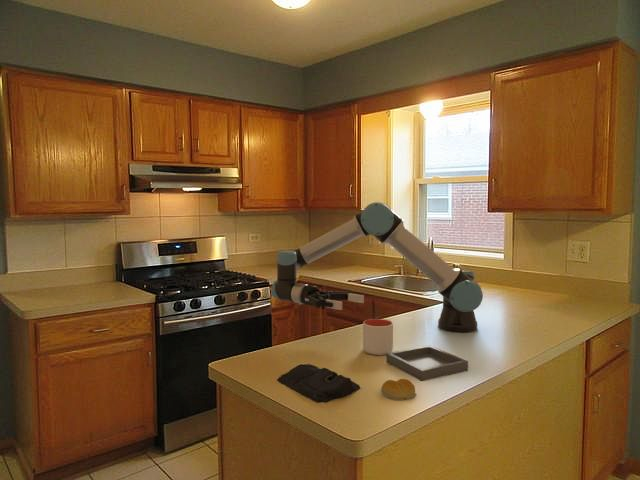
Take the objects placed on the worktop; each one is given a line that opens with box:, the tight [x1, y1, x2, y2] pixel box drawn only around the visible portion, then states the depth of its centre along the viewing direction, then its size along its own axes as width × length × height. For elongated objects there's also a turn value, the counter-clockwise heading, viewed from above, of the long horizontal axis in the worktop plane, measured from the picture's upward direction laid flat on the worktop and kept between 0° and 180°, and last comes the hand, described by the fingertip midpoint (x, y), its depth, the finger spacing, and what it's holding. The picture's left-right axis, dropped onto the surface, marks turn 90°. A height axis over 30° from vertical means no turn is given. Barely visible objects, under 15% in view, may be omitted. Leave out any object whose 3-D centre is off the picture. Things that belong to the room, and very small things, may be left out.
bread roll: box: [380, 378, 417, 401], centre depth 126 cm, size 8×9×4 cm
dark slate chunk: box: [276, 363, 361, 404], centre depth 132 cm, size 15×22×5 cm
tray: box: [385, 344, 469, 382], centre depth 146 cm, size 17×17×3 cm
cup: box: [362, 318, 394, 356], centre depth 161 cm, size 10×10×10 cm
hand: (353, 302), depth 166 cm, fingers open, 13 cm apart
